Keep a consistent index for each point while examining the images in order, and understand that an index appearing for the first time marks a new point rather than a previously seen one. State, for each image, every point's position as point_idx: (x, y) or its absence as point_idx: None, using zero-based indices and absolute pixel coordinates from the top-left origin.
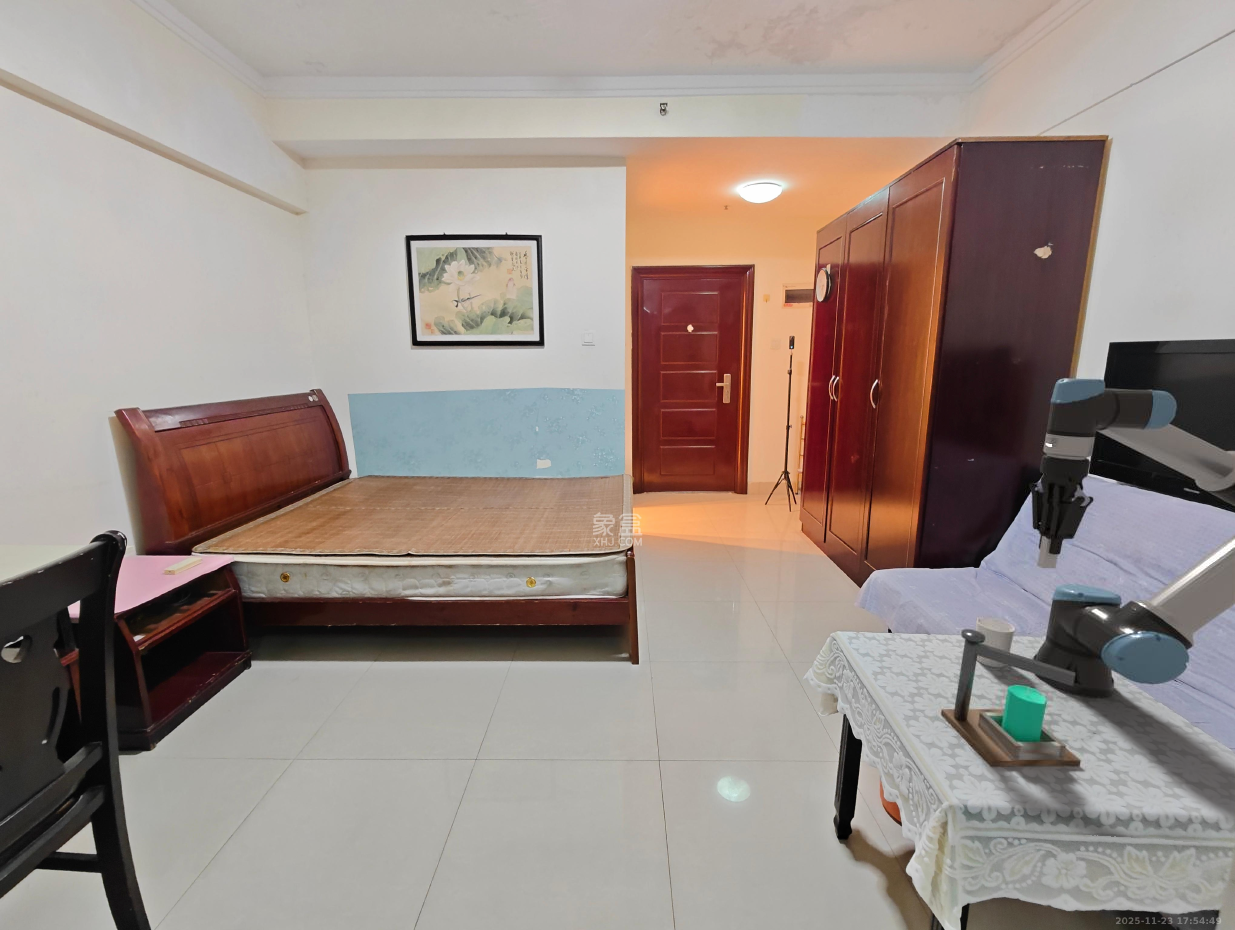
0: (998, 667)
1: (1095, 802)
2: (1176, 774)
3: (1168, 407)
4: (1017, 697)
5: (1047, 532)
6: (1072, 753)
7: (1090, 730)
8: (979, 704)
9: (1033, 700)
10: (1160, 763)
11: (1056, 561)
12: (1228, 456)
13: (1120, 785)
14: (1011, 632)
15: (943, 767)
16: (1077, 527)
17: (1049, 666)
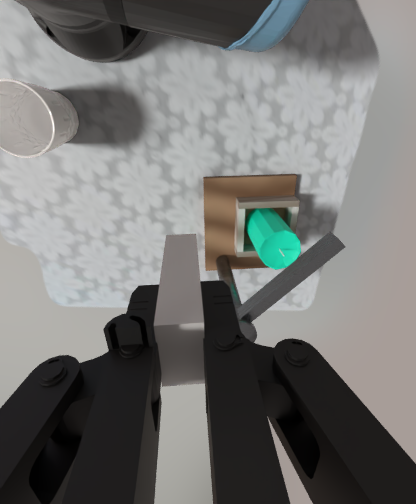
0: (77, 118)
1: (337, 199)
2: (324, 52)
3: None
4: (285, 267)
5: (159, 390)
6: (286, 176)
7: (237, 97)
8: (184, 213)
9: (289, 248)
10: (305, 53)
11: (196, 247)
12: None
13: (325, 151)
14: (49, 107)
15: (278, 301)
16: (392, 443)
17: (315, 263)
